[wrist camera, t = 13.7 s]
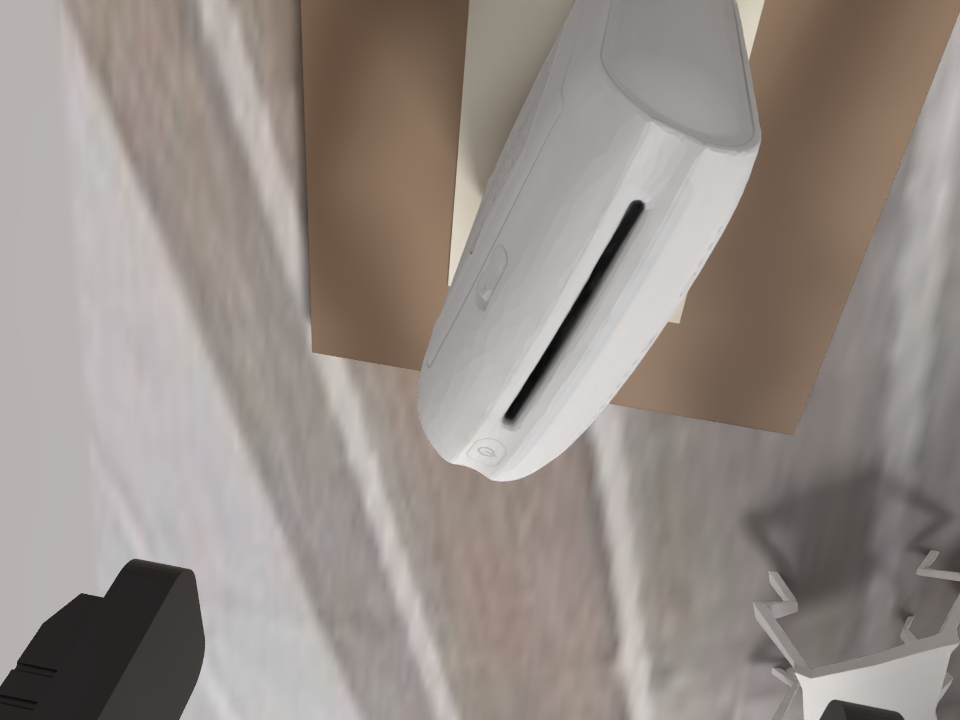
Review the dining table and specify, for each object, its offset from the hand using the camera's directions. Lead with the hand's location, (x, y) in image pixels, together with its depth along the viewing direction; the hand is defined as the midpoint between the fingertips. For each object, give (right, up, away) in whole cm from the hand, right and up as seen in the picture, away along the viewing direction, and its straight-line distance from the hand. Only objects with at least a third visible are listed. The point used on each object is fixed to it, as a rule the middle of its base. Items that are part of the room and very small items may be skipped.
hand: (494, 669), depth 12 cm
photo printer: (+3, +11, +16) cm, 20 cm away
